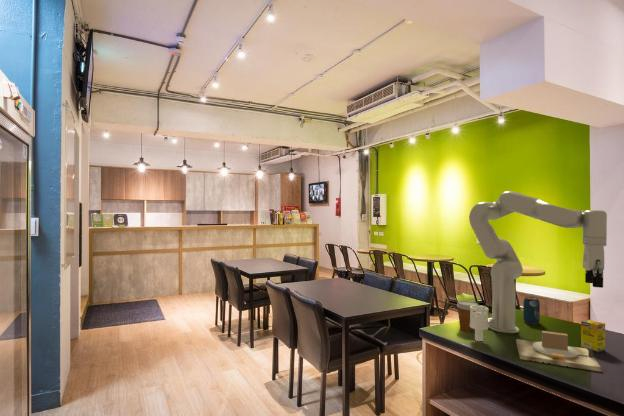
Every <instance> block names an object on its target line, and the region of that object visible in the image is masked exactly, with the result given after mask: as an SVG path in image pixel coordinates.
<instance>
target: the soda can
mask: <svg viewBox="0 0 624 416" xmlns="http://www.w3.org/2000/svg"><path fill="white" fill-rule="evenodd" d="M540 303H541V302H540V300H539V298H538V297H533V296H525V297H524V299H523V307H522V308H523V309H522V310H523V311H522V312H523V315H522V316H523V317H522V319H523V321H524V323H527V324H531V325H538V324H539V322H540V320H541V319H540V318H541V317H540V309H541V307H540V306H541V304H540Z"/></svg>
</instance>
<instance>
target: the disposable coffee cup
mask: <svg viewBox="0 0 624 416" xmlns="http://www.w3.org/2000/svg"><path fill="white" fill-rule="evenodd" d="M473 305H477V306H479V304H478V302H474V301H469V300H468V301H467V300H460V301H459V300H458V302H457V304H456V307H457V311H458V322H459V329H460V330H462V331H464V332H475V329H473V328H471V327H470V306H473ZM476 309H479V308H476ZM473 312H476V311H473Z"/></svg>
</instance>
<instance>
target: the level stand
mask: <svg viewBox="0 0 624 416" xmlns="http://www.w3.org/2000/svg"><path fill="white" fill-rule="evenodd" d="M535 342H536V341H533V340H528V339H527V340H526V339H520V338H519V339H518V338H516V339H515V344H516V347H517V352H518V356H519V360H523V361H524V360H525V361H529V360H531V362H535V361H536V363H542V362H544V363H543V364H548V363H550V365H556V366H561V367H567V366H568V367H569V368H575V369H581V370H588V371H594V372H602V366H601V365H600V364H599V363H598V361H597V360H596V359H595V357H594V352H593V348H588V350H587V349H586V348H581V347H578V346H570V345H568V346H569V347H571V348H573V349H575V350H576V351H577V357H575V358H565V359H563V358H557V357H552V356H548V355H545V354H542V353H539V352H537V351H535V350H534V349H533V343H535ZM537 361H538V362H537Z"/></svg>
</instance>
